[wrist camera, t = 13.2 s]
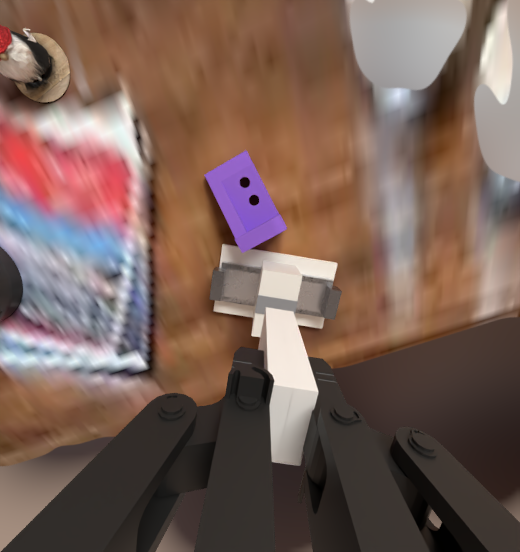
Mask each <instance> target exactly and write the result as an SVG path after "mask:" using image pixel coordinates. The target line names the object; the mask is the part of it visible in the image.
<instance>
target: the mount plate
mask: <svg viewBox="0 0 520 552" xmlns="http://www.w3.org/2000/svg"><path fill="white" fill-rule="evenodd" d="M263 260H265V261H271V262H277V263H283V264H289V265H295V266H296V267H297V268H298V270H299V272H300V273H301V274H306V275H312V276H318V277H324V278H330V279H332V280H333V281H334V276H335V272H336V268H337V263H335V262H329V261H323V260H317V259H311V258H305V257H299V256H294V255H288V254H282V253H276V252H270V251H264V250H258V249H252V248H251V249H249V250H247V251H246V252H244V253H242V252H241V250H240V248H239V247H238V246H234V245H228V244H222V252H221V259H220V268H221V267H222V262H223V261H227V262H233V263H239V264H245V265H251V266H257V267H262V261H263ZM332 285H333V284H332ZM254 308H255V306H250V305H243V304H237V303H231V302H225V301H216V300H215V304H214V311H215V312H221V313H228V314H234V315H240V316H246V317H252V318H253V314H254ZM295 318H296V321H297V325H302V326H308V327H315V328H321V329H322V327H323V322H324V317H317V316H311V315H305V314H299V313H295Z"/></svg>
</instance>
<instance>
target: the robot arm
mask: <svg viewBox="0 0 520 552" xmlns="http://www.w3.org/2000/svg"><path fill="white" fill-rule="evenodd" d="M21 297H22V281H21V277H20V273H19V271H18V269H17V267H16V265H15V263H14V262H13V260H12V259H11V257H10V256H9V255H8V254H7V253H6V252H5V251H4V250H3V249H2V248H1V247H0V321H1V320H4V319H5V318H7V317H9V316H10V315H11V314H12V313H13V312H14V311H15V310H16V309H17V307H18V305H19V303H20V300H21ZM303 452H304V456H305V463H306V467H305V471H304V474H303V479H302V482H301V486H300V490H299V494H298V503H302V499H303V495H304V494H305V501H306V508H307V514H308V521H309V528H310V535H311V542H312V549H313V552H520V522H519V521H518V520H516V518H515V517H514V516H513V515H512V514H511V513H510V512H509V511H508V510H506V508H504V507H503V505H501V504H500V503H499V502H498V501H497V500H496V499H495V498H494V497H493V496H492V495H491V494H490V493H489V492H488V491H487V490H486V489H485V488H484V487H483V486H482V485H481V484H480V483H479V482H478V481H477V480H476V479H475V478H474V477H473V476H472V475H471V474H470V473H469V472H468V471H467V470H466V469H465V468H464V467H463V466H462V465H461V464H460V463H459V462H458V461H457V460H456V459H455V458H454V457H453V456H452V455H451V454H450V453H449V452H448V451H447V450H446V449H445V448H444V447H443V446H442V445H441V444H440V443H439V442H437V441H436V440H435V439H434V438H433V437H431V436H429V435H428V434H426V433H424V432H423V431H420V430H418V429H415V428H412V427H401V428H398V429H397V431H396V433H395V436H394V437H391V436H388V435H386V434H383V433H381V432H378V431H376V430H374V429H371V428H369V427H368V425H367V423H366V421H365V419H364V418H363V416H362V415H361V413H360V412H358V411H357V410H356V409H355V408H354V407H352V406H350V405H348V404H346V401H345V399H344V396H343V394H342V392H341V390H340V387H339V386H338V383H337V381H336V378H335V376H334V374H333V372H332V369H331V367H330V366H329V365H328V364H327V363H326V362H325V361H324V360H323V359H320V358H313V357H307V353H306V350H305V347H304V344H303V341H302V337H301V334H300V331H299V328H298V325H297V321H296V318H295V315H294V312H293V311H287V310H281V309H274V308H268V307H266V309H265V314H264V320H263V325H262V331H261V336H260V342H259V347H258V350H257V349H251V348H244V347H240V348H239V349H238V350H237V351H236V352H235V354H234V359H233V364H232V369H231V371H230V372H229V375H228V382H227V388H226V394H225V396H224V397H223V399H221V400H220V401H219V402H217V403H214V404H212V405H207V406H199V407H197V406H196V403H195V402H194V401H193V399H192V398H190V397H188V396H186V395H184V394H178V393H171V394H165V395H162V396H159V397H157V398H155V399H154V400H152V401H151V402H150V403H149V404H148V405H147V406H146V407H145V408H144V409H143V410H142V411H141V412H140V413H139V414H138V415H137V416H136V417H135V418H134V419H133V420H132V421H131V422H130V423H129V424H128V425H127V426H126V427H125V428H124V429H123V430H122V431H121V432H120V433H119V434H118V435H117V436H116V437H115V438H114V439H113V440H112V441H111V442H110V443H109V444H108V445H107V446H106V447H105V448H104V449H103V450H102V451H101V452H100V453H99V454H98V455H97V456H96V457H95V458H94V459H93V460H92V461H91V462H90V463H89V464H88V465H87V466H86V467H85V468H84V469H83V470H82V471H81V472H80V473H79V474H78V475H77V476H76V477H75V478H74V479H73V480H72V481H71V482H70V483H69V484H68V485H67V486H66V487H65V488H64V489H63V490H62V491H61V492H60V493H59V494H58V495H57V496H56V497H55V498H54V499H53V500H52V501H51V502H50V503H49V504H48V505H47V506H46V507H45V508H44V509H43V510H42V511H41V512H40V513H39V514H38V515H37V516H36V517H35V518H34V519H33V520H32V521H31V522H30V523H29V524H28V525H27V526H26V527H25V528H24V529H23V530H22V531H21V532H20V533H19V534H18V535H17V536H16V537H15V538H14V539H13V540H12V541H11V542H10V543H9V544H8V545H7V546H6V547H5V548H4V549H3V550H2V551H1V552H155V551H156V549H157V547H158V545H159V544H160V542H161V540H162V538H163V536H164V534H165V532H166V530H167V529H168V527H169V525H170V523H171V521H172V519H173V517H174V515H175V513H176V511H177V509H178V507H179V506H180V504H181V502H182V500H183V498H184V496H185V493H186V492H189V491H194V490H199V489H204V488H207V490H206V495H205V500H204V505H203V510H202V515H201V520H200V525H199V530H198V535H197V540H196V546H195V550H194V552H275V532H274V507H273V483H272V462H277V463H285V464H291V465H298V466H300V464H301V459H302V456H303ZM432 509H433V511H434V512H435V513H436V515H437V516H438V517H439V518H440V520H441V521H442V524H441V527H440V528H439V529H438V528H437V527H435V526H434V525H433V524H432V522H431V521H430V520H429V518H428V517H429V515H430V513H431V510H432Z"/></svg>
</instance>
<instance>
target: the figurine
mask: <svg viewBox="0 0 520 552" xmlns="http://www.w3.org/2000/svg"><path fill="white" fill-rule="evenodd" d="M29 31H30V29H25V28H24V29H23V32H24V33H25V34H24V35H21V34H18V33H15V32H13V31H10V30H9V29H8V28H7V27H4V26H1V25H0V73H1V74H2V75H4V76H5V77H7V78H9V79H11V80H12V81H14V82H15V83H16V86H17V87H18V88H19V89H20V91H21V92H22V93H23V94H24V95H26V96H27V97H28V98H30V99H32V100H34V101H37V102H51V101H54V100H56V99H58V98H59V97H61V96H62V95H63V94H64V93H65V91H66V89H68V88H67V87H68V85H69V81H70V76H69V74H70V70H69V64H68V63H69V62H68V59H67V57H66V56H65V53H64V52H63V50H62V49H61V48H60V46H59V45H58V44H57V43H56V42H55V41H54V40H52V39H51V38H49V37H48V36H46V35H43V34H40V33H30V32H29ZM44 73H45V76H44V78H43V79H42V78H41V77H42V75H43V74H44ZM34 80H39V81H38V82H36V83H33V81H34Z"/></svg>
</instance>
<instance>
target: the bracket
mask: <svg viewBox="0 0 520 552" xmlns="http://www.w3.org/2000/svg"><path fill="white" fill-rule="evenodd" d="M205 177H206V179H207V181H208V183H209V185H210V187H211V189H212V191H213V194H214V196H215V198H216V200H217V202H218V204H219V206H220V208H221V210H222V212H223V214H224V216H225V218H226V220H227V222H228V224H229V226H230V229H231V231H232V233H233V235H234V237H235V241H236V243H237V245H238V247H239V248H240V250H241V252H242V253H244V252H246V251H247V250H249V249H251V248H253V247H255V246H257V245H259V244H261V243H262V242H264V241H266V240H268V239H270V238H272V237H274V236H275V235H277V234H279V233H281V232H283V231H284V230H286V229H287V227H286V225H285V223H284V221H283V219H282V217H281V215H280V214H278V212H277V210H276V208H275V206H274V204H273V202H272V200H271V198H270V196H269V194H268V192H267V190H266V188H265V186H264V184H263V182H262V180H261V178H260V176H259V174H258V172H257V170H256V168H255V166H254V164H253V162H252V160H251V159H250V157H249V155H248V153H247V151H244V152H243V153H241V154H239V155H238V156H236V157H234V158H232V159H231V160H229V161H227V162H226V163H224V164H222V165H220V166H219V167H217V168H215V169H214V170H212V171H210V172H209V173H207V174H205ZM243 177H247V178H248V179H249V180H250V185H249V187H247V188H243V187H241V185H240V179H241V178H243ZM252 195H257V196H258V197H259V203H258V204H257V205H255V206H253V205H251V204H250V203H249V198H250V196H252Z"/></svg>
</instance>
